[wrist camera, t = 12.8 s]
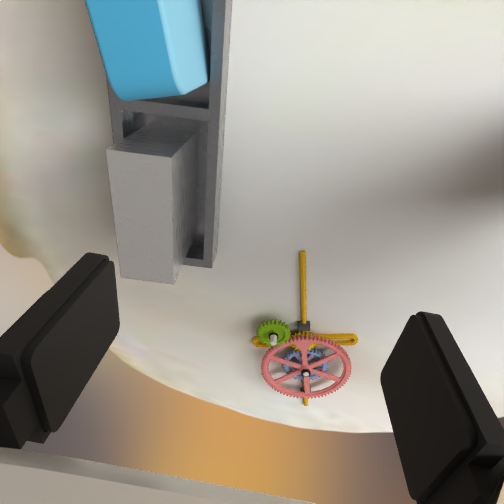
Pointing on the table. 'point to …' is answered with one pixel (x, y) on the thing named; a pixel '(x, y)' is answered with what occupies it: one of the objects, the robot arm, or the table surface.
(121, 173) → the rack
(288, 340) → the mechanical gear assembly
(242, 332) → the table surface
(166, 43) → the data package
